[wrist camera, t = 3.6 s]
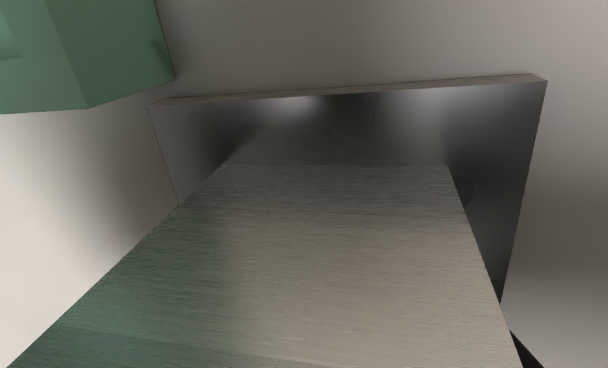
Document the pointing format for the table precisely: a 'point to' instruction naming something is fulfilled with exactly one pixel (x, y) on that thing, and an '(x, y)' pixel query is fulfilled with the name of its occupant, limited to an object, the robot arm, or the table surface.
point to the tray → (78, 53)
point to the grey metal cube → (294, 279)
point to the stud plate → (374, 140)
